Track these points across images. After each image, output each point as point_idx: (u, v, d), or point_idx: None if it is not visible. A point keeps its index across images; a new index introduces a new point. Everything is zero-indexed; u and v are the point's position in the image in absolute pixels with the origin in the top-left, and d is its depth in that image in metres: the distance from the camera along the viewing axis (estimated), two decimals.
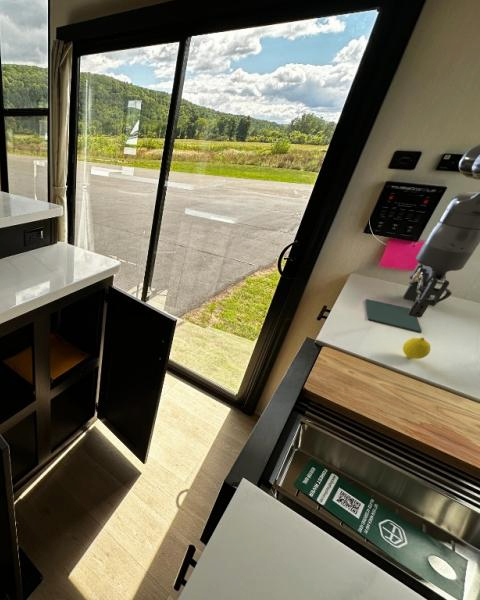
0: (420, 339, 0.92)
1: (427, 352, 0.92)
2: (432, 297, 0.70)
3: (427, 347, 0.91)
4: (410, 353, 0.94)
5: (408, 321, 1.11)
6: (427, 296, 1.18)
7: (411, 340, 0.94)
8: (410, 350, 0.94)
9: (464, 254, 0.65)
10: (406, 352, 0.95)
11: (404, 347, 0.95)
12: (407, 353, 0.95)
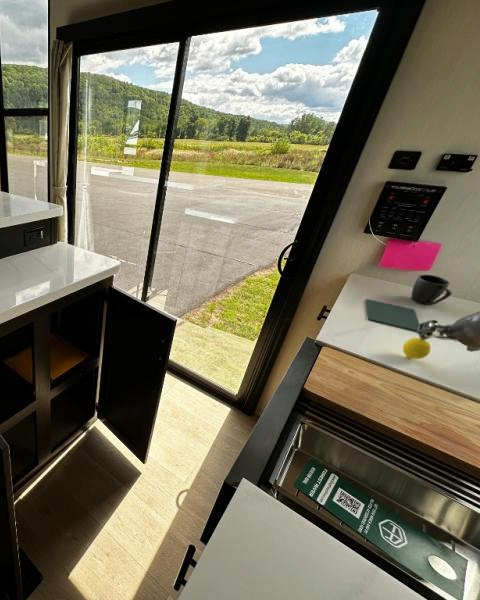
0: (420, 339, 0.92)
1: (427, 352, 0.92)
2: (431, 334, 0.78)
3: (427, 347, 0.91)
4: (410, 353, 0.94)
5: (408, 321, 1.11)
6: (427, 296, 1.18)
7: (411, 340, 0.94)
8: (410, 350, 0.94)
9: (463, 332, 0.69)
10: (406, 352, 0.95)
11: (404, 347, 0.95)
12: (407, 353, 0.95)
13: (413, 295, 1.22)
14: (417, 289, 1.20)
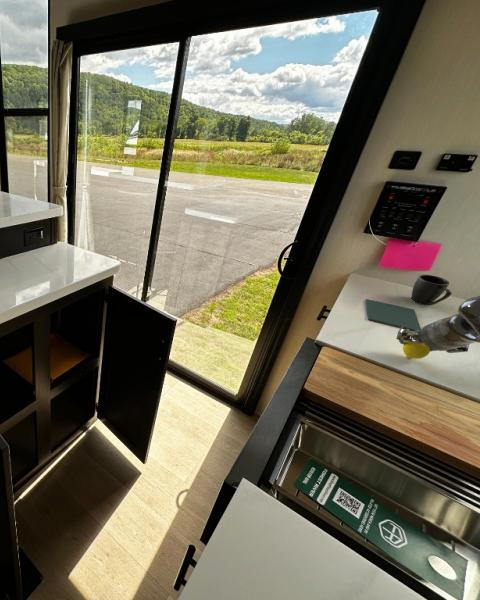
0: None
1: (427, 352, 0.92)
2: (407, 339, 0.92)
3: (427, 346, 0.91)
4: (410, 353, 0.94)
5: (408, 321, 1.11)
6: (427, 296, 1.18)
7: None
8: (410, 350, 0.94)
9: (427, 337, 0.83)
10: (406, 352, 0.95)
11: (404, 347, 0.95)
12: (407, 353, 0.95)
13: (413, 295, 1.22)
14: (417, 289, 1.20)
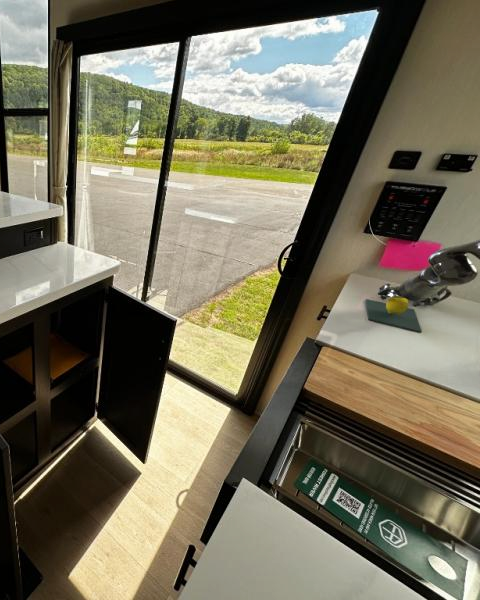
0: None
1: (405, 307, 1.10)
2: (387, 294, 1.11)
3: (405, 302, 1.10)
4: (392, 309, 1.12)
5: (408, 321, 1.11)
6: None
7: (392, 298, 1.12)
8: (391, 306, 1.12)
9: (405, 289, 1.01)
10: (388, 308, 1.13)
11: (387, 304, 1.14)
12: (389, 309, 1.13)
13: None
14: None
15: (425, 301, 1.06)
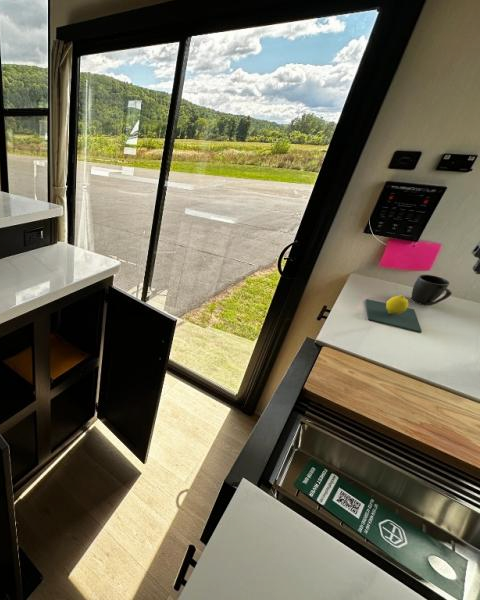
0: (400, 296, 1.11)
1: (405, 307, 1.10)
2: None
3: (405, 302, 1.10)
4: (392, 309, 1.12)
5: (408, 321, 1.11)
6: (427, 296, 1.18)
7: (392, 298, 1.12)
8: (391, 306, 1.12)
9: None
10: (388, 308, 1.13)
11: (387, 304, 1.14)
12: (389, 309, 1.13)
13: (413, 295, 1.22)
14: (417, 289, 1.20)
15: None
